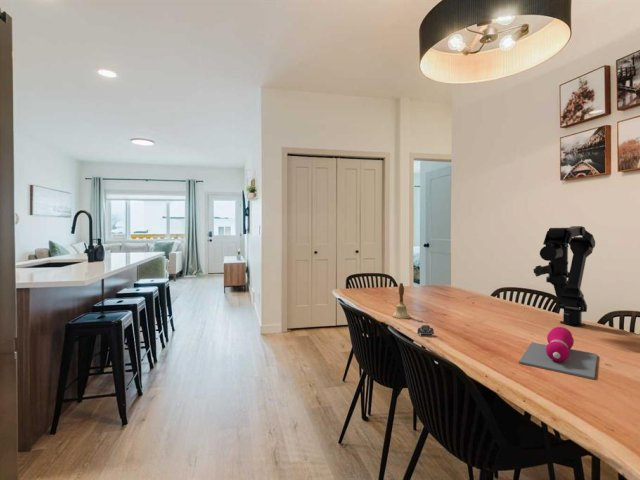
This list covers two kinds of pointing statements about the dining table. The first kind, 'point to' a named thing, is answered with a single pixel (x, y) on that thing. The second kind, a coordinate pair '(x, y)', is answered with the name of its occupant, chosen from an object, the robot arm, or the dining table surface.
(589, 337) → the dining table surface
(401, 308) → the hand bell
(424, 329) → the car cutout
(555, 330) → the pepper mill
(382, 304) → the dining table surface
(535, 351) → the mat
